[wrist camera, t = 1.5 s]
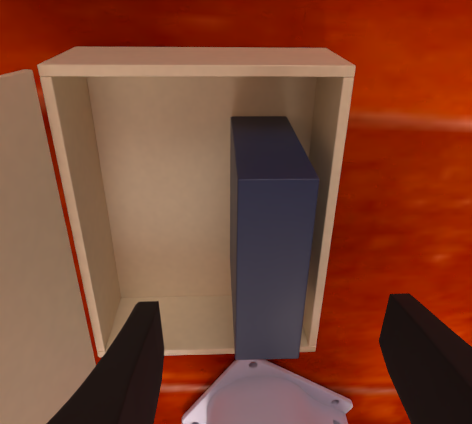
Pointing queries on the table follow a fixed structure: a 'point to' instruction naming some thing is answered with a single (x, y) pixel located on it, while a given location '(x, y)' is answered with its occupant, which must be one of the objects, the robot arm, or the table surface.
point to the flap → (35, 269)
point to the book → (269, 235)
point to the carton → (182, 174)
